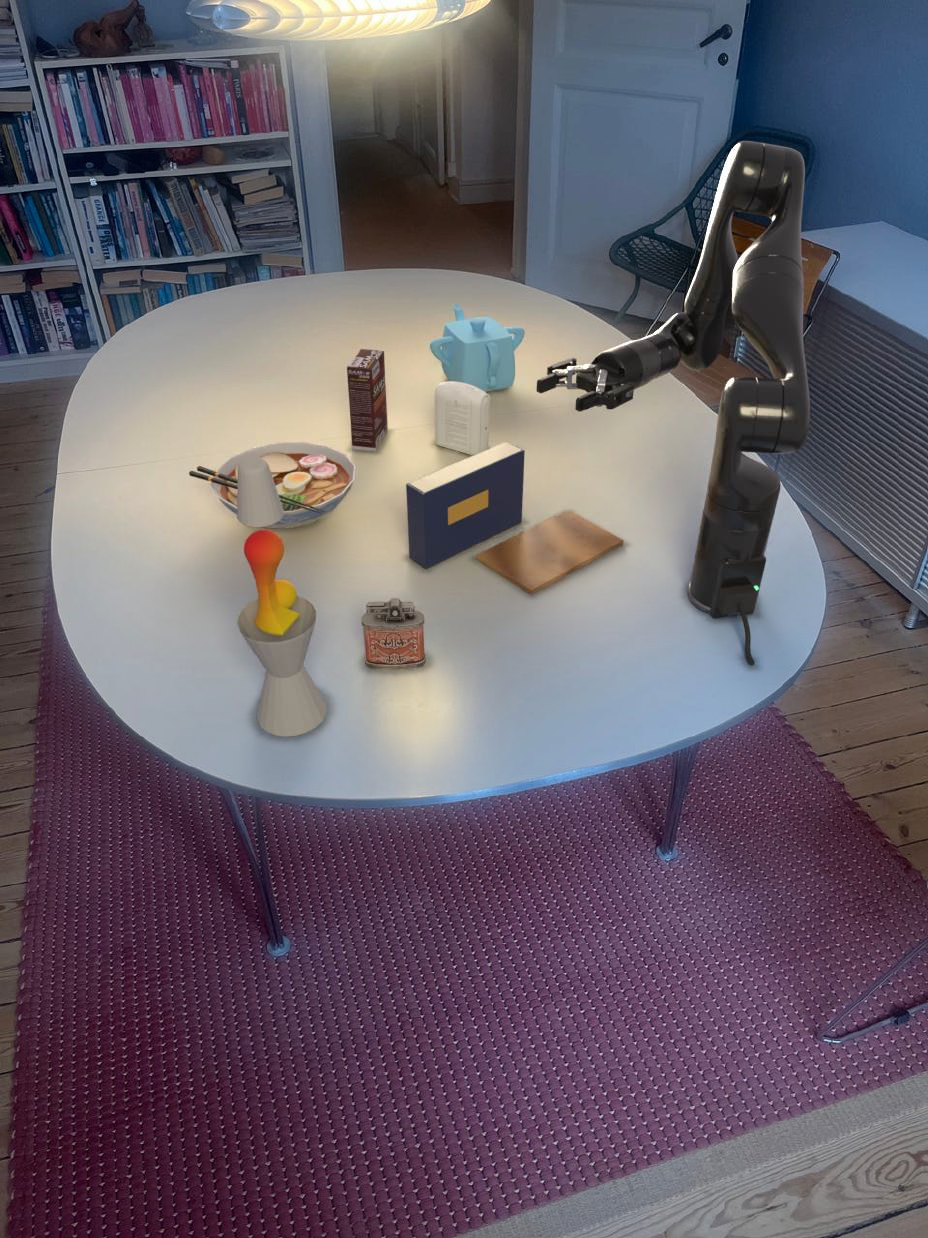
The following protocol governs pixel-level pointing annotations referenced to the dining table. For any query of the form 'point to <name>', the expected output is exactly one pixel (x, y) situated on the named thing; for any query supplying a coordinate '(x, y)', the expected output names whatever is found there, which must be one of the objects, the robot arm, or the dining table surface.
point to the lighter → (393, 635)
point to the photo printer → (462, 417)
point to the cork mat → (549, 551)
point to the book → (464, 504)
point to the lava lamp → (275, 613)
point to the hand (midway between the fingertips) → (557, 395)
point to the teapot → (478, 351)
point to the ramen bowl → (291, 479)
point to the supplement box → (367, 400)
